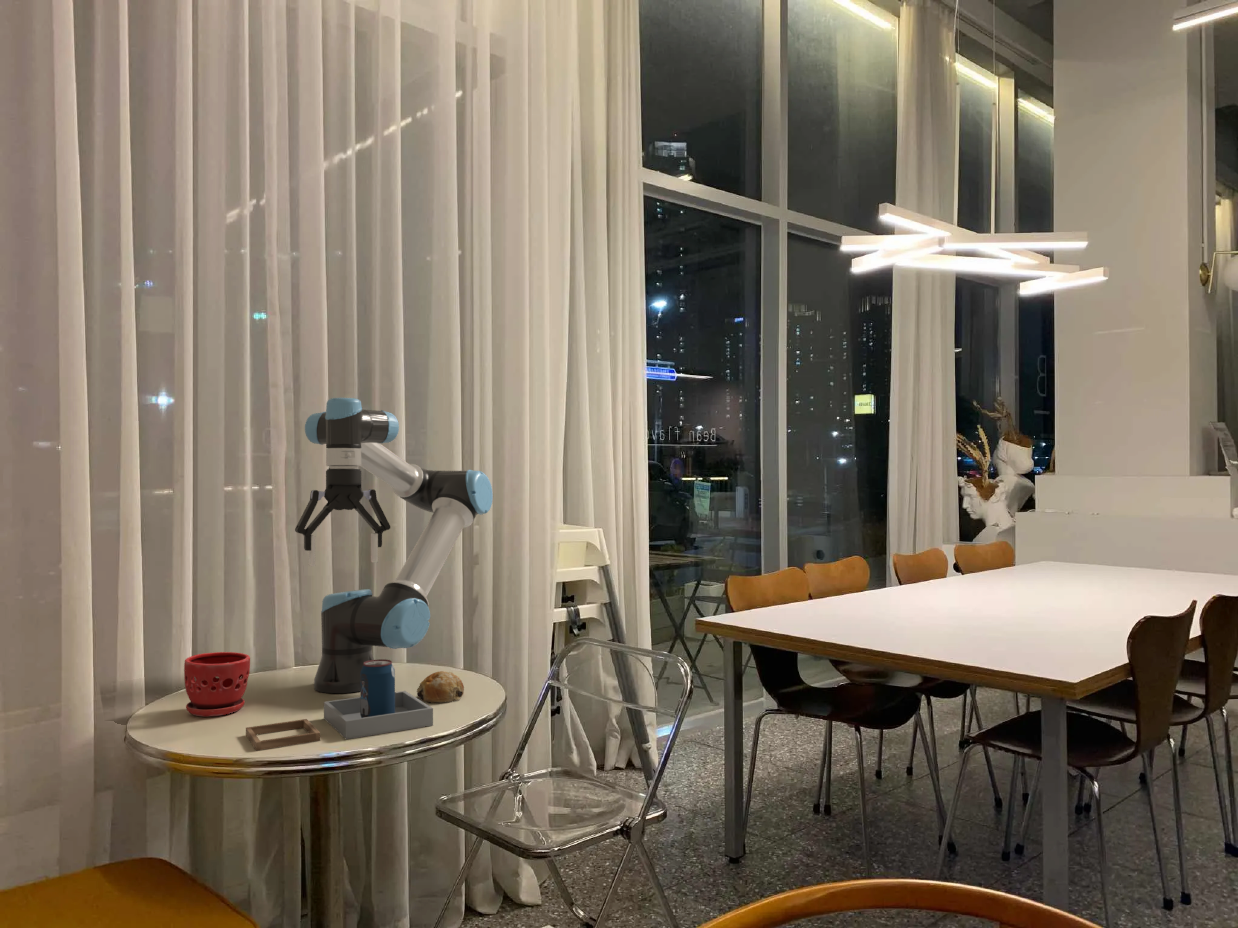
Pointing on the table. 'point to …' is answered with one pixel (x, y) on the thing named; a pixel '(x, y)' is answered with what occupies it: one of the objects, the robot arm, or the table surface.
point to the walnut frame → (284, 741)
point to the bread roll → (441, 688)
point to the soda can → (377, 688)
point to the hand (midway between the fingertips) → (343, 564)
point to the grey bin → (352, 725)
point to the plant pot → (216, 682)
